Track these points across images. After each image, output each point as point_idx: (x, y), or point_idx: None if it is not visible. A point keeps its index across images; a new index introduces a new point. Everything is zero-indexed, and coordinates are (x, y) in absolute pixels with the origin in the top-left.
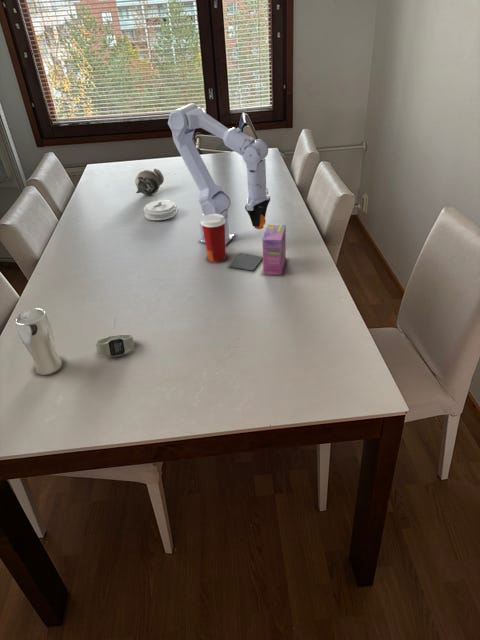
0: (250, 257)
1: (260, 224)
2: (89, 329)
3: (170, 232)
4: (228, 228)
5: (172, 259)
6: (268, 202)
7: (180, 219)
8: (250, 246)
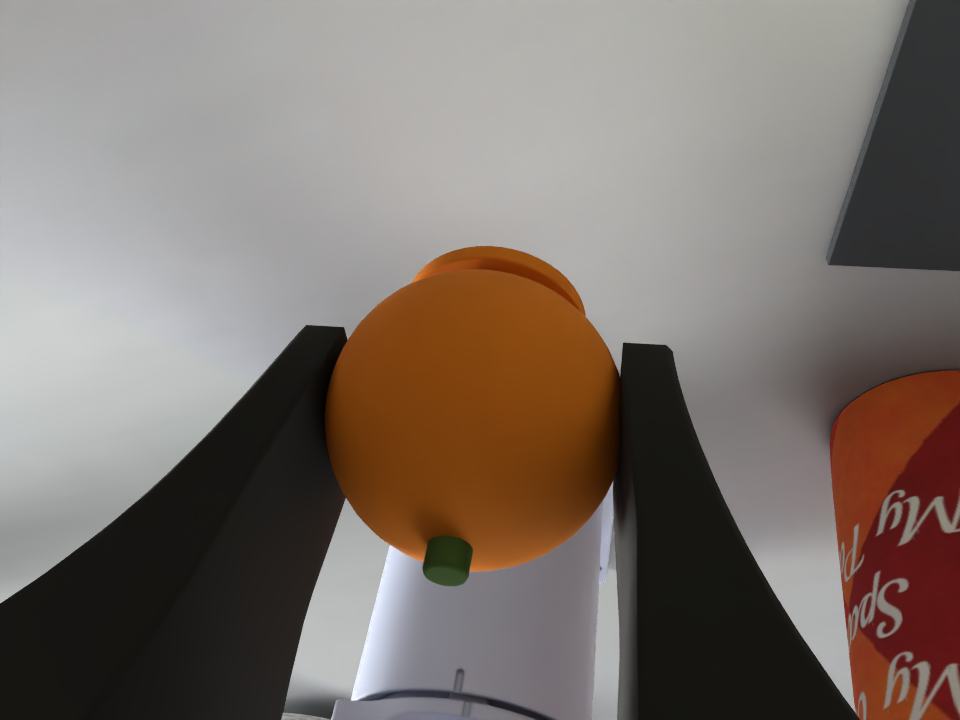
0: (948, 116)
1: (600, 351)
2: None
3: None
4: None
5: None
6: (22, 687)
7: (317, 682)
8: (565, 215)
